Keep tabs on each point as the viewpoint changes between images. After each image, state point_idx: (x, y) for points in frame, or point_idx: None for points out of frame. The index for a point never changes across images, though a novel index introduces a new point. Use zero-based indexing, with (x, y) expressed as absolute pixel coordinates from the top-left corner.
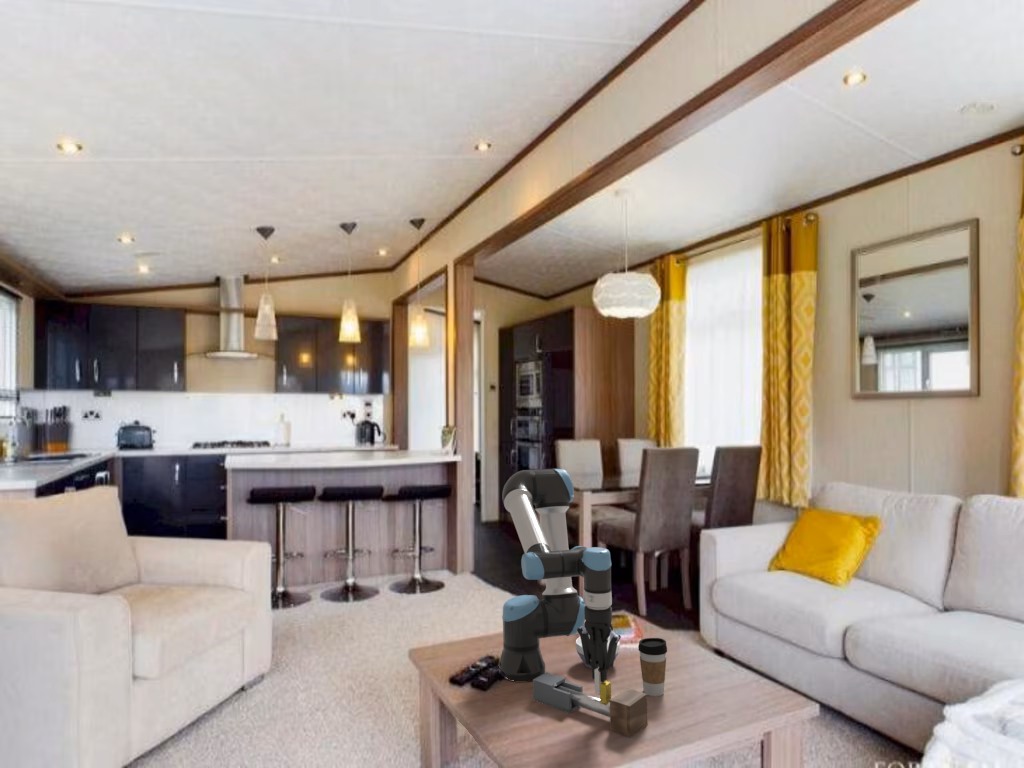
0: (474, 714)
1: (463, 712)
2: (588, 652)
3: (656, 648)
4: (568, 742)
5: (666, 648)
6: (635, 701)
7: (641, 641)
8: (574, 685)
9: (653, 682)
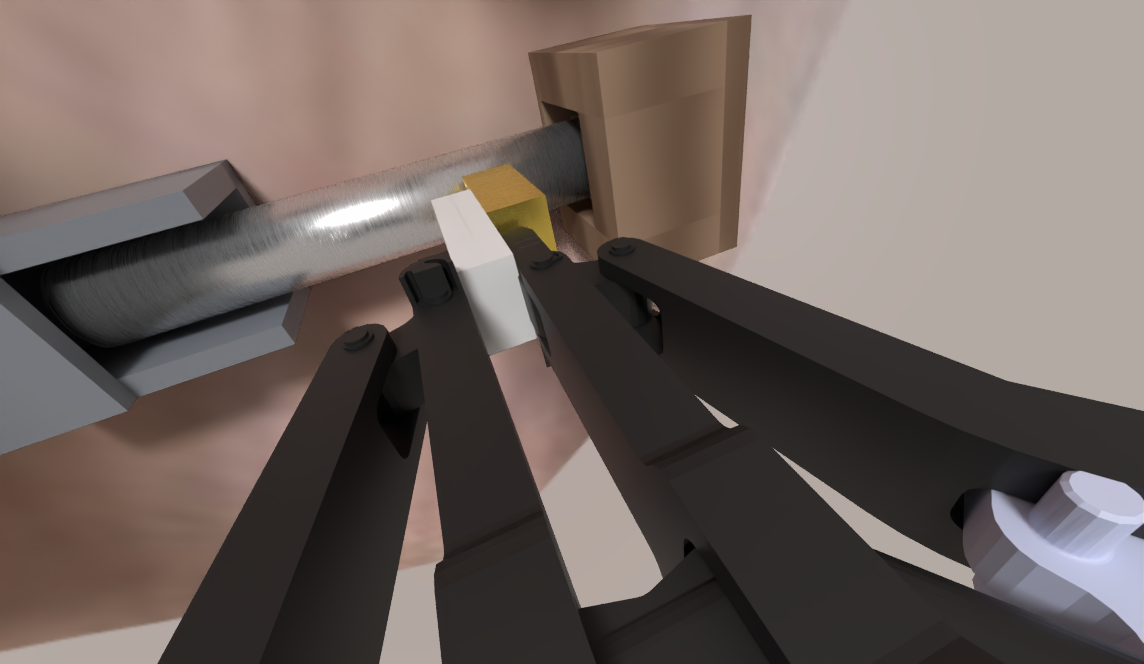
0: (126, 604)
1: (83, 633)
2: (396, 483)
3: None
4: (527, 397)
5: None
6: (737, 179)
7: None
8: (133, 236)
9: None
